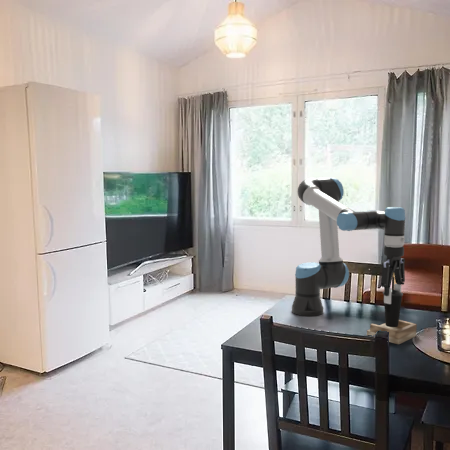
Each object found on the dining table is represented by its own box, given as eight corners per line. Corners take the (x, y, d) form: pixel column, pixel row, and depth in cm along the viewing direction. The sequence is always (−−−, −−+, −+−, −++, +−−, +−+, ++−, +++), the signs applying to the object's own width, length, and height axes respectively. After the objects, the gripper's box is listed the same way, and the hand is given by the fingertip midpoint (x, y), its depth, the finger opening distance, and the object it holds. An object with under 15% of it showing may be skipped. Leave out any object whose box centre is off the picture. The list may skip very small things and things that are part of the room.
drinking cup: (403, 328, 181) (405, 279, 179) (383, 327, 182) (384, 279, 180) (400, 322, 188) (401, 275, 186) (380, 321, 190) (382, 275, 188)
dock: (366, 335, 187) (367, 323, 186) (385, 327, 196) (385, 316, 195) (398, 344, 176) (398, 332, 175) (416, 336, 185) (416, 324, 184)
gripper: (389, 249, 172) (387, 308, 175) (415, 244, 185) (413, 298, 188) (372, 247, 178) (370, 304, 181) (398, 242, 191) (396, 295, 193)
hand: (392, 301), depth 184 cm, fingers closed on drinking cup, 7 cm apart
